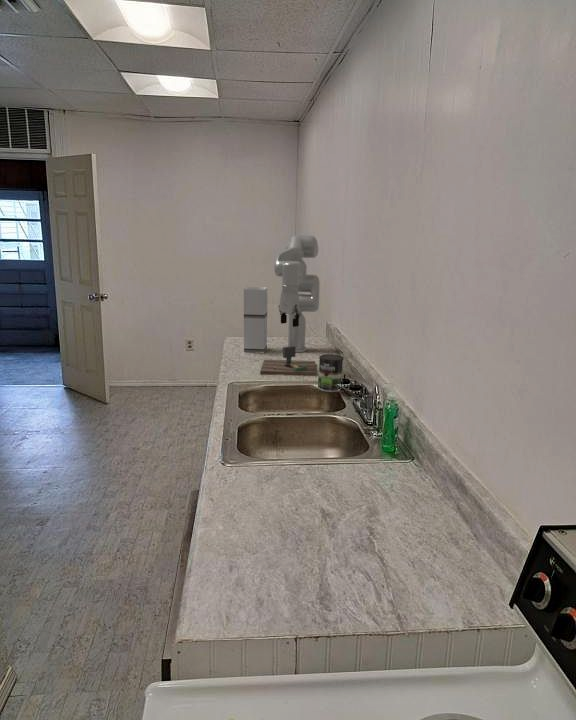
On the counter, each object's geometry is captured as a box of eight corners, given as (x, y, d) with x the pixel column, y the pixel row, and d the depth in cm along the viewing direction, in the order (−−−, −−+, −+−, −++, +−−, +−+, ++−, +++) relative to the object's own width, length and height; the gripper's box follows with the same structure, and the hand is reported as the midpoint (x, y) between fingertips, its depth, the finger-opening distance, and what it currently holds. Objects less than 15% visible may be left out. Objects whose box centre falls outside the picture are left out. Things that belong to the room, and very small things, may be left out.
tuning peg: (281, 364, 251) (281, 346, 249) (292, 363, 254) (292, 345, 252) (292, 370, 242) (293, 351, 240) (303, 368, 245) (304, 350, 243)
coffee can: (336, 393, 214) (338, 361, 211) (314, 389, 219) (315, 357, 215) (345, 387, 223) (347, 356, 220) (324, 383, 228) (325, 353, 224)
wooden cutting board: (264, 362, 263) (264, 357, 262) (314, 363, 262) (315, 358, 261) (260, 374, 241) (260, 368, 241) (315, 375, 240) (315, 369, 240)
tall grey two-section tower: (267, 348, 294) (267, 287, 285) (264, 352, 283) (264, 289, 275) (247, 347, 295) (247, 286, 286) (243, 352, 284) (243, 288, 276)
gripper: (273, 287, 247) (272, 322, 251) (294, 291, 233) (294, 328, 237) (285, 286, 251) (285, 321, 255) (307, 290, 237) (306, 327, 242)
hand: (289, 324), depth 246 cm, fingers open, 9 cm apart
